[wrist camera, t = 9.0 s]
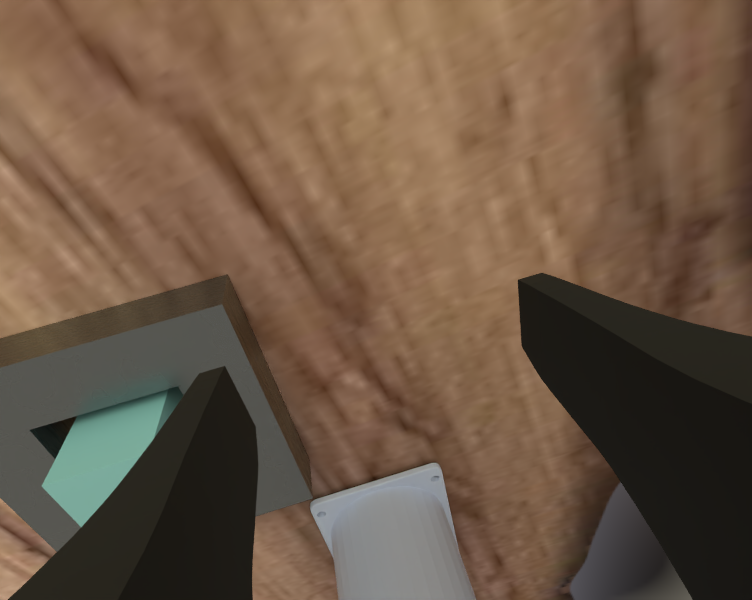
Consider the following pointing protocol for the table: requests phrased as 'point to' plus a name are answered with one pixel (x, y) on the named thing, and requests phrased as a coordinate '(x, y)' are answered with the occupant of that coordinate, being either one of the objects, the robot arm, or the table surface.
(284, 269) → the table surface
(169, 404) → the teal block
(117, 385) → the grey square-hole plate
